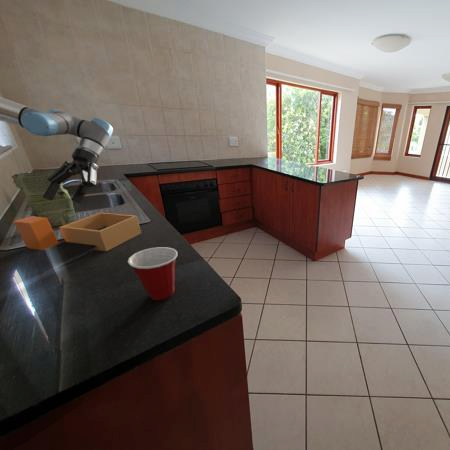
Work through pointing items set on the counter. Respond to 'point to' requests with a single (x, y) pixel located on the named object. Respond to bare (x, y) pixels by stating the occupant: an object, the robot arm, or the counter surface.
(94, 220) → the open box
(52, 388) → the counter surface
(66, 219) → the pouch
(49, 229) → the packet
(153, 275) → the plastic cup
